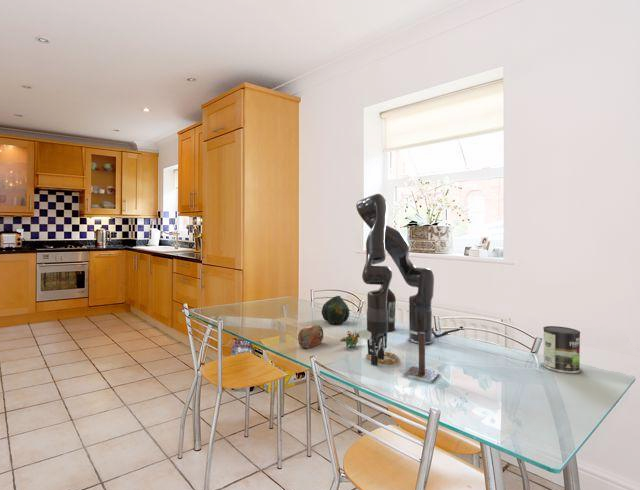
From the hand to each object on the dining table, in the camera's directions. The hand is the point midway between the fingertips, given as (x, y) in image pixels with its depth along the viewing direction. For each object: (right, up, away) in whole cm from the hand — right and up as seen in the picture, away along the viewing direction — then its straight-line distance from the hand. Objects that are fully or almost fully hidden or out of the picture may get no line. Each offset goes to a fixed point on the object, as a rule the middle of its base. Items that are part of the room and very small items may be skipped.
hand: (377, 362), depth 147 cm
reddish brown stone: (-21, -1, +25) cm, 33 cm away
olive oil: (+21, +1, +50) cm, 54 cm away
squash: (0, +1, +65) cm, 65 cm away
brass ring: (+3, +1, +4) cm, 5 cm away
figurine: (-5, -1, +19) cm, 19 cm away
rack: (+11, -1, -11) cm, 16 cm away
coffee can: (+64, 0, -6) cm, 64 cm away
